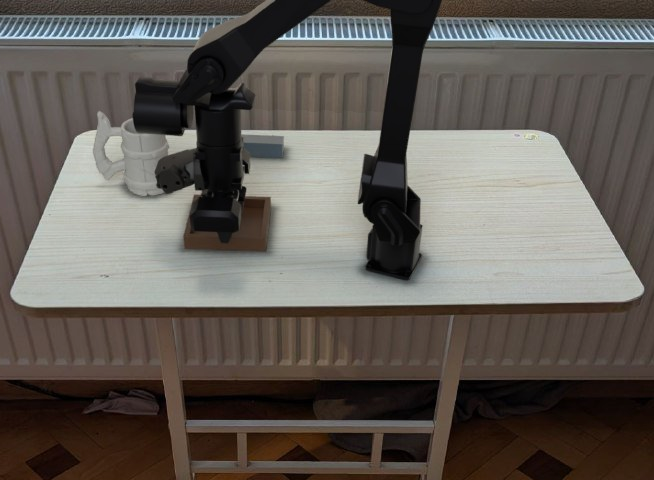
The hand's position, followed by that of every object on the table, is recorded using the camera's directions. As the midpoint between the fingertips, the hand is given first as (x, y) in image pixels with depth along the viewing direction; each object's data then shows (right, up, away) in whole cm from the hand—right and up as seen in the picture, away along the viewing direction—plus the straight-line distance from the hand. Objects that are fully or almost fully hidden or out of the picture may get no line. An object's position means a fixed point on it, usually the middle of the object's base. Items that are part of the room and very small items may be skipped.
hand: (224, 242), depth 117 cm
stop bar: (+1, +19, +23) cm, 30 cm away
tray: (0, +3, +6) cm, 7 cm away
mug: (-15, +11, +14) cm, 24 cm away
